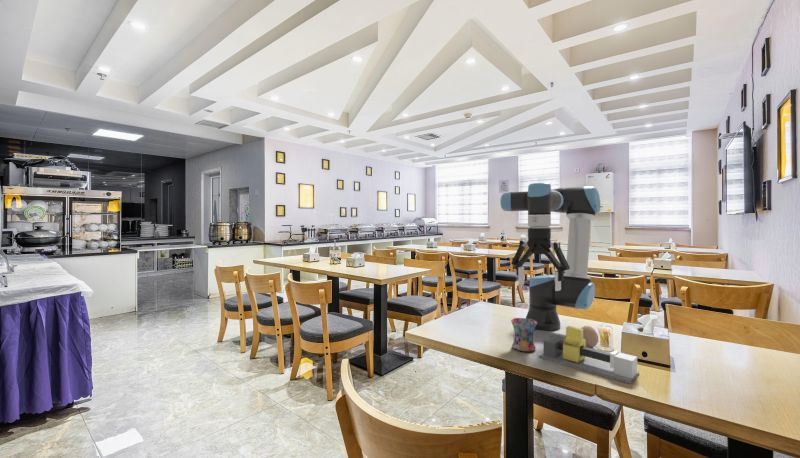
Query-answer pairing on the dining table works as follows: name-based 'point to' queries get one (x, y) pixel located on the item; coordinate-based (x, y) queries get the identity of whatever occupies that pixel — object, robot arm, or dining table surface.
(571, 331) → the yellow block
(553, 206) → the robot arm
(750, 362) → the dining table surface
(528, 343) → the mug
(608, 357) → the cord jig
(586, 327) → the egg
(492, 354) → the dining table surface
